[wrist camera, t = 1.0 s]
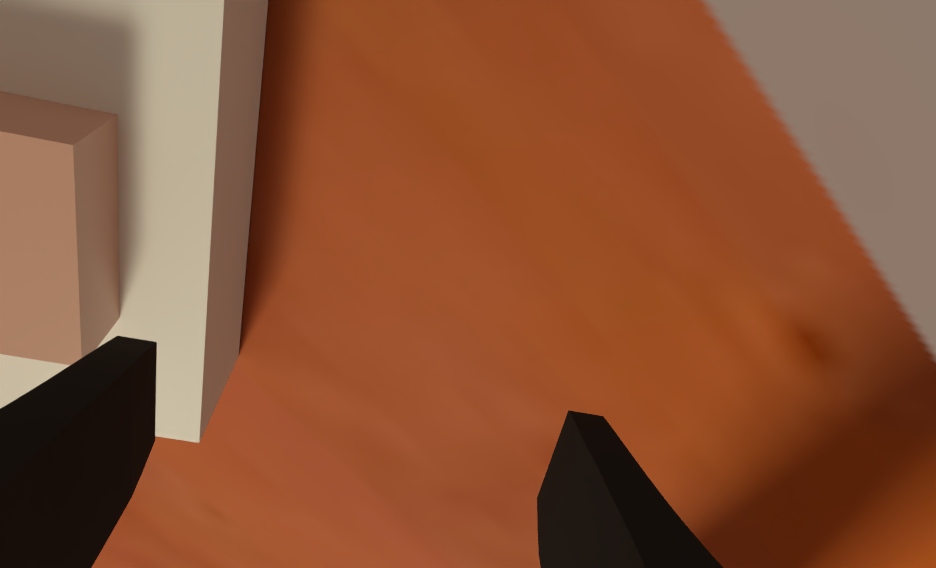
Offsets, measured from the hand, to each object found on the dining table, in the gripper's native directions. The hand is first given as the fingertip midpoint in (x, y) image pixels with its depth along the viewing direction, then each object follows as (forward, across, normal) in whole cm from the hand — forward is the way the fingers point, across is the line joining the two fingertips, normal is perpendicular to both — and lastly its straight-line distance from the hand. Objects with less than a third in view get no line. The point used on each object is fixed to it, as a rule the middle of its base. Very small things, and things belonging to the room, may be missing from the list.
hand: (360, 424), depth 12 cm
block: (+5, +8, 0) cm, 10 cm away
